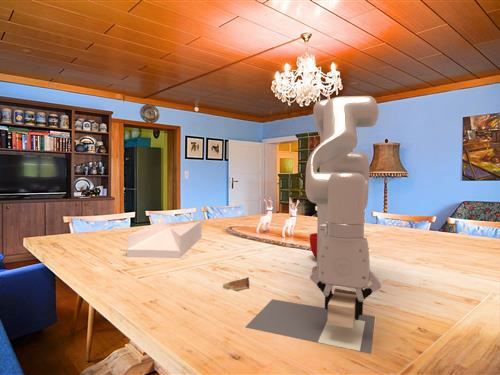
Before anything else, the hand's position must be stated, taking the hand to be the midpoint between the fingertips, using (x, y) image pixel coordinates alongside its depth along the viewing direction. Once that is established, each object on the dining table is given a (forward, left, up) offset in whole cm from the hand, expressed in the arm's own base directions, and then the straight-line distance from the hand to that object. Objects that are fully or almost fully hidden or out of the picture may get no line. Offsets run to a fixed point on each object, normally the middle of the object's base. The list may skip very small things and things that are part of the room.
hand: (343, 314), depth 70 cm
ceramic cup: (-62, -13, -5) cm, 64 cm away
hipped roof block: (-56, -88, -5) cm, 104 cm away
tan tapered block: (0, 0, 0) cm, 0 cm away
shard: (-18, -34, -5) cm, 39 cm away
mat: (-2, -7, -4) cm, 8 cm away
